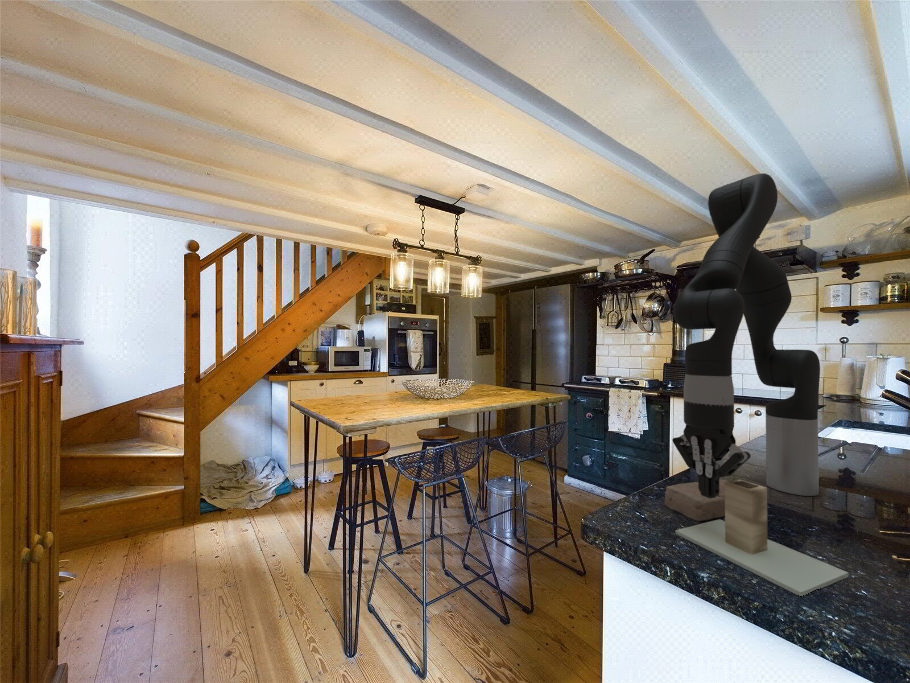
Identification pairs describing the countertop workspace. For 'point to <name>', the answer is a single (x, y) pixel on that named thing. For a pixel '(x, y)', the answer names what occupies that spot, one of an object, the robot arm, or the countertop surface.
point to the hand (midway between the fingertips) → (708, 496)
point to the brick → (695, 501)
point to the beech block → (746, 516)
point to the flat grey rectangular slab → (767, 560)
